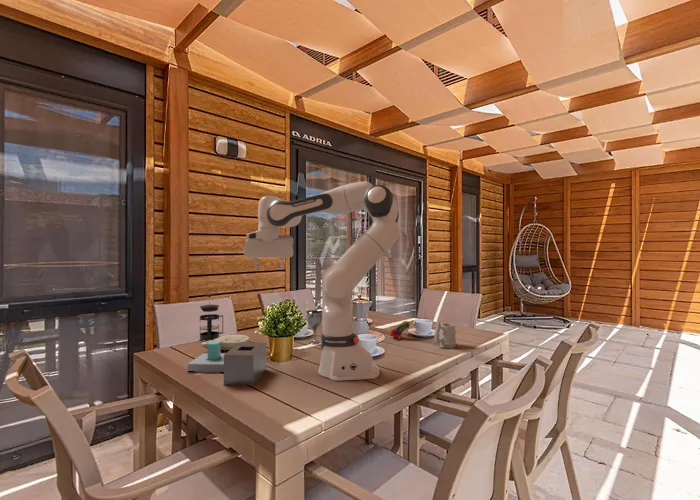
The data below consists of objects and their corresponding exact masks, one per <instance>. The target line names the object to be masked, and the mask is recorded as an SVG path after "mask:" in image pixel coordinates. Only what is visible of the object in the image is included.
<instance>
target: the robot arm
mask: <svg viewBox="0 0 700 500" xmlns="http://www.w3.org/2000/svg"><path fill="white" fill-rule="evenodd" d="M360 210H365V211H366V212H368V215H369V217H370V219H371V220H372V224H371V225H370V226H369V227H368V228H367V230H365V231H364V232H363V233H362V234H361V235H360V236H359V237H358V239H356V241H354V242H353V243H352V244H351V246H350V247H349V248H348V249H347V250H346V251H345V252H344V253H343V254H342V255H341V256H340V257H339V259H338V260H336V262H335V263H334V264H333V265H331V266H329V267H328V268H327V267H326V269H325V270H324V272H323V273H322V277H321V298H322V303H321V304H322V305H321V306H322V309H321V311H322V322H321V324H322V329H321V330H322V332H321V336H320V341H321V344H320V347H321V357H320V361H319V366H318V367H319V368H318V371H317V373H318V375H320V376H322V377H324V378H328V379H330V380H331V381H333V382H334V381H335V382H338V381H341V382H342V381H354V380H371V379H372V380H375V379H377V378H378V377H379V375H380V373H381V372H380V367H379V366H378V365H376V364H375V362H374V359H373V356H372V354H371V352H370V351H368V350H367V349H365V348H364V347H363V346H362V345H361V344H359V342H360V338H359V335H358V334H357V333H354V332H353V302H352V291H354V289H355V288H356V287H357V286H358V284H360V282H361V281H362V280H363V278H364V277H366V275H367V274H368V273H369V272H370V270H371V269H372V268H373V267H374V266H375V265H376V264H377V263H378V262H379V261H380V260H381V259H382V258H383V257H384V256H385V255H386V253H388V252H389V250H390V249H391V248H392V247H393V245H394V244H395V243H396V241H397V240H398V239H399V237H400V234H401V229H400V226H399V224H398V221H399V216H400V214H399V209H398V205H397V201H396V199H395V197H394V195H393V192H392V190H390V189H389V187H387V186H386V185H384V184H374V185H373V184H372V182H369V181H358V182H352V183H347V184H343V185H340V186H338V187H335V188H331V189H329V190H326V191H324V192H321V193H318V194H316V195H312V196H308V197H303V198H299V199H295V200H289V201H288V200H287V201H286V200H284V199H283V200H282V199H280V198H279V197H278V196H277V195H266V196H263V197H261V198H260V199H259V201H258V206H257V218H258V219H257V220H258V226H257V230H256V231H253V232H249V233H246V236H245V237H246V238H245V239H246V240H245V242H244V246H243V255H244V257H245V258H252V262H253V263H254V268H255V269H260V268H261V264H260V263H258V262H257V260H258V258H280V260H281V261H280V263H278V264H277V269H283V263H284V262H285V261H286V258H292V257H293V256H294V247H293V245H294V237H293V236H291V235H289V234H286V235H285V234H280V227H287V228H293V227H297V226H298V225H299V224H300V223H301V221H302V218H303V216H305V215H310V214H314V213H315V214H317V213H325V214H330V215H344V214H349V213H353V212H357V211H360Z"/></svg>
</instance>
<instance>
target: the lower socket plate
mask: <svg viewBox="0 0 700 500" xmlns="http://www.w3.org/2000/svg"><path fill="white" fill-rule="evenodd" d="M225 353H226V352H224V353H223V352H221V359H219V360H218V361H217V360H208V352H203V353H202V354H201V355H199V356H197V357H196V358H195V359H193V360H192V361H189V362H188V363H187V372H188V371H195V372H194V373H220V372H224V354H225Z"/></svg>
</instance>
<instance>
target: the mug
mask: <svg viewBox="0 0 700 500" xmlns="http://www.w3.org/2000/svg"><path fill="white" fill-rule="evenodd" d="M439 333H440V334H439ZM456 333H457V332H456V325H455V324H453V323H441V322H440V321H438V320H437V321H436V327H435V332H434V335H433V337H434V343H435V345H436V346H440V348H444V349H445V348H446V349H447V348H448V349H453V348H456V345H457V341H456ZM439 335H440V336H439Z"/></svg>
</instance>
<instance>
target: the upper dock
mask: <svg viewBox="0 0 700 500" xmlns="http://www.w3.org/2000/svg"><path fill="white" fill-rule="evenodd" d="M224 353H225V354H224V373H223V385H224V386H254V385H255V384H256V383H257V382H258V380H259V379H260V378H261V376H262V375H263V374H264V373H265V371H266V370H267V342H248V343H238V344H237V345H236V346H235V347H233V348H232V349H231V350H229V351H226V352H224Z"/></svg>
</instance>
